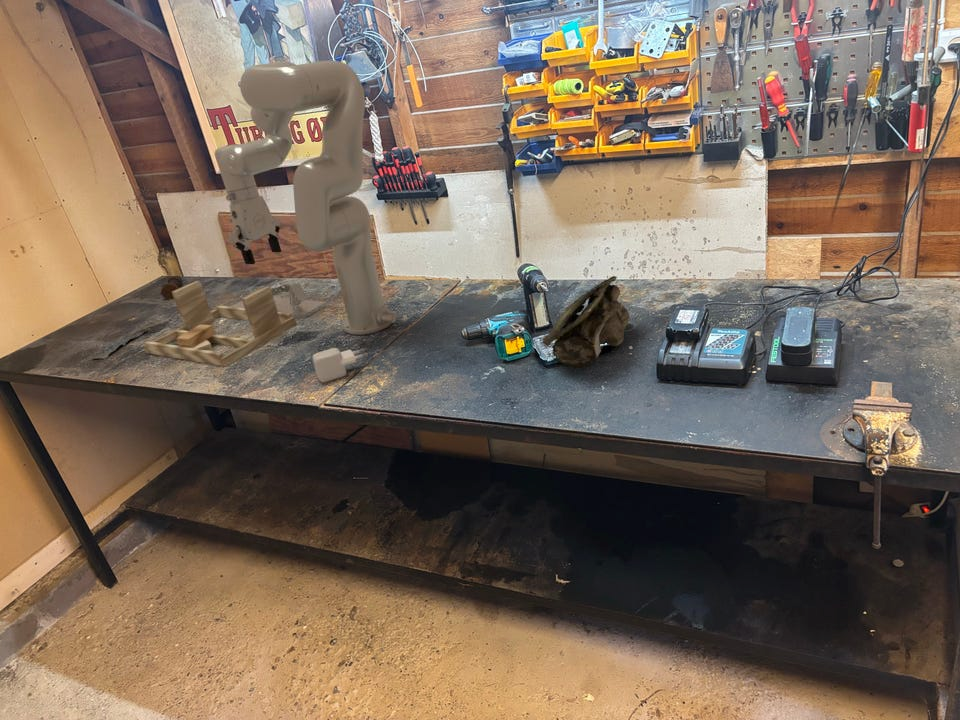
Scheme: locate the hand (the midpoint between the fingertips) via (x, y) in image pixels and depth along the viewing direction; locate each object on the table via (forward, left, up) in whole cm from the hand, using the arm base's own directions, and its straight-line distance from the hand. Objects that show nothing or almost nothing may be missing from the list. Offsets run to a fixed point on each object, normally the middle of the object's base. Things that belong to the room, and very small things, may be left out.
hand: (264, 257), depth 173 cm
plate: (+1, 0, -15) cm, 15 cm away
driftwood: (+30, +29, -16) cm, 44 cm away
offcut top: (+1, +27, -12) cm, 29 cm away
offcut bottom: (+1, +27, -15) cm, 31 cm away
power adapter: (-46, +27, -15) cm, 56 cm away
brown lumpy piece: (+51, -4, -15) cm, 53 cm away
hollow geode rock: (-93, +4, -15) cm, 94 cm away
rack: (+1, +20, -15) cm, 25 cm away
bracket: (+1, 0, -14) cm, 14 cm away
